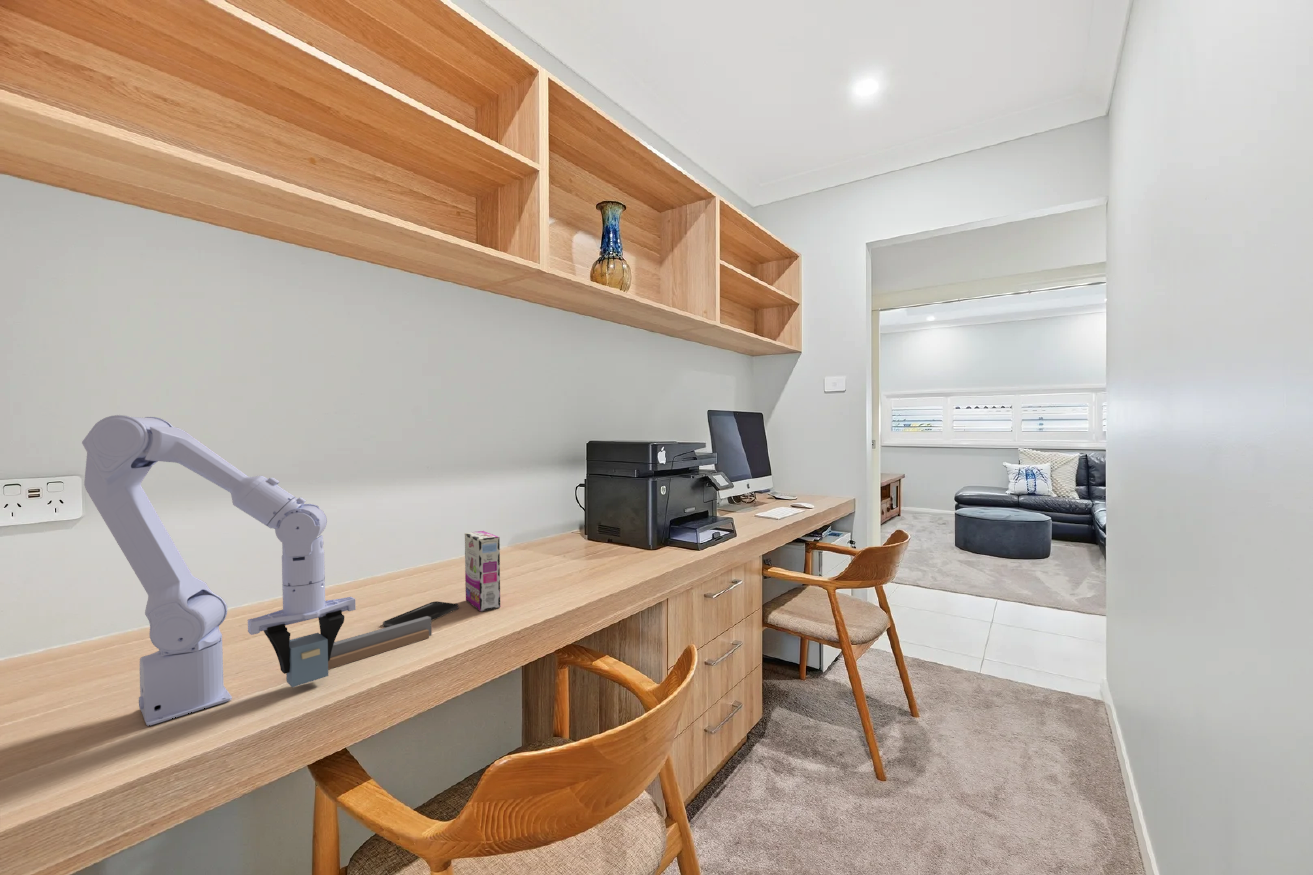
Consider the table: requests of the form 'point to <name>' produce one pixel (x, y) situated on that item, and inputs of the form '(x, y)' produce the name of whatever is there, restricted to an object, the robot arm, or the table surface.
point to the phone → (423, 613)
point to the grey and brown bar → (379, 641)
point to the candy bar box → (482, 570)
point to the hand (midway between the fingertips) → (305, 665)
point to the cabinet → (307, 659)
